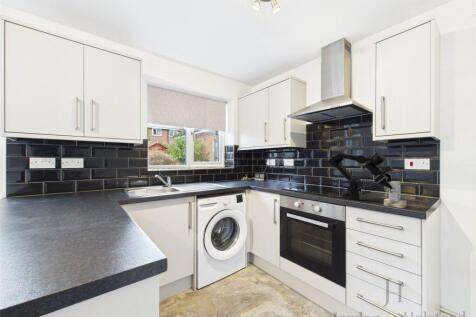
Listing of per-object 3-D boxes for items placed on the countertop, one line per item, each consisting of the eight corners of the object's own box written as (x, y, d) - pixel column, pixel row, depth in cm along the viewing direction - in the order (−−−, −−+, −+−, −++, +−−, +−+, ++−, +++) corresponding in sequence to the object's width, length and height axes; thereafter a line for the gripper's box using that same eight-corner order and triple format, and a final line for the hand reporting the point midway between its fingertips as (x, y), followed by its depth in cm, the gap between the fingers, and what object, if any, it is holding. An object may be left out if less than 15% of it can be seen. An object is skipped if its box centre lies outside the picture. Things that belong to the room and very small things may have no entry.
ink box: (391, 198, 137) (391, 180, 138) (401, 199, 134) (400, 181, 134) (388, 200, 132) (387, 181, 132) (398, 201, 128) (397, 182, 128)
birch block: (383, 205, 134) (383, 199, 134) (387, 204, 138) (387, 198, 138) (403, 208, 126) (403, 202, 126) (406, 207, 131) (406, 200, 131)
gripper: (380, 161, 131) (401, 180, 122) (388, 161, 143) (408, 178, 135) (365, 173, 137) (385, 192, 128) (374, 172, 149) (393, 189, 141)
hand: (393, 187), depth 133 cm, fingers open, 9 cm apart
